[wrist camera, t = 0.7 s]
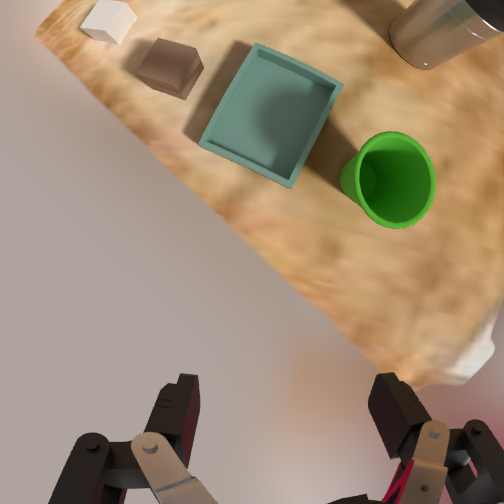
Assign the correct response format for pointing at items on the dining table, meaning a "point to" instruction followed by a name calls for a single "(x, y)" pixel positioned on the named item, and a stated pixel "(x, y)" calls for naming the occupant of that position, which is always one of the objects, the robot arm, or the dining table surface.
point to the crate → (271, 115)
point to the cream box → (109, 21)
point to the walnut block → (171, 68)
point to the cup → (390, 180)
